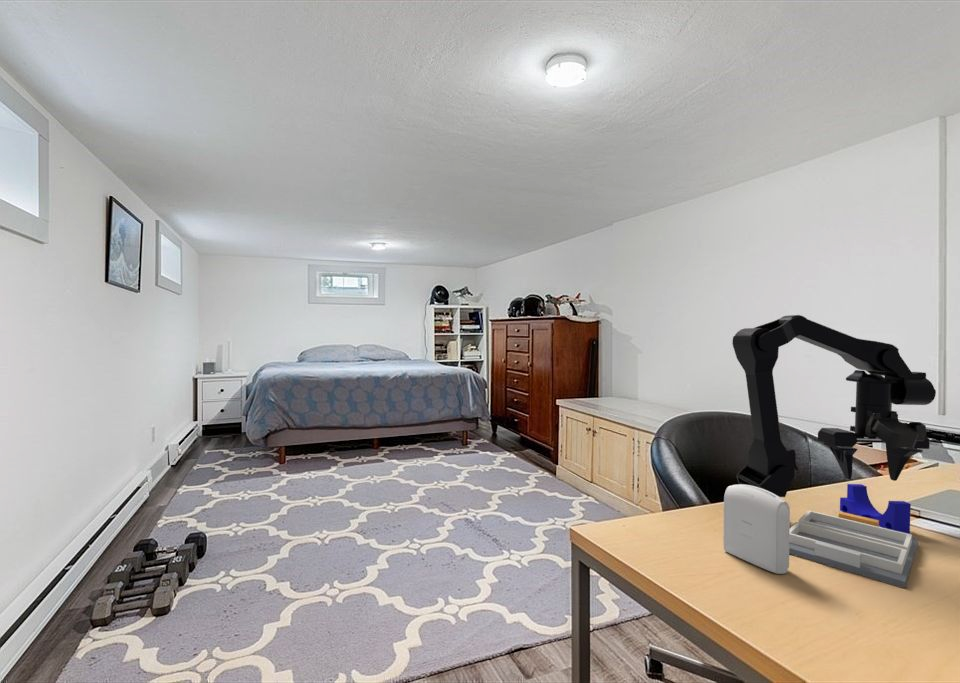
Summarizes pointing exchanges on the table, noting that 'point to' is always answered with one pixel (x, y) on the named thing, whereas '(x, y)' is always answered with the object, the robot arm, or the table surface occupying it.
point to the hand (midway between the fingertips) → (870, 479)
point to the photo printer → (757, 527)
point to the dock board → (854, 546)
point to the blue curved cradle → (861, 506)
